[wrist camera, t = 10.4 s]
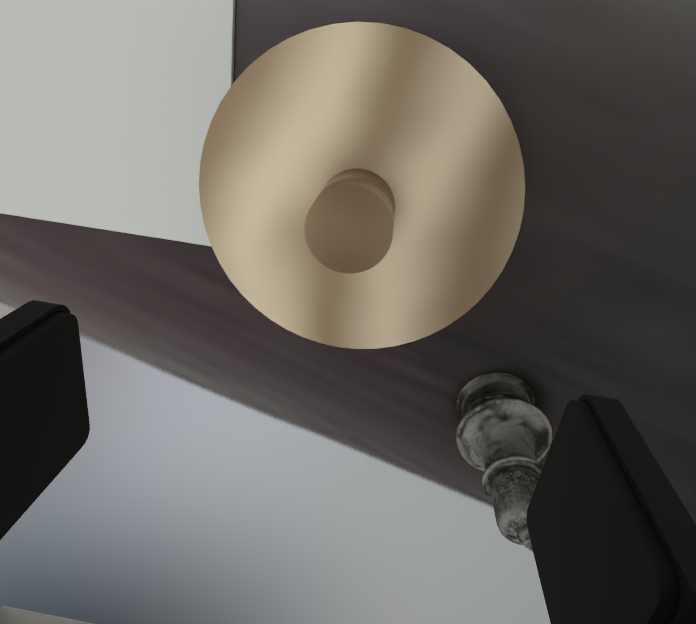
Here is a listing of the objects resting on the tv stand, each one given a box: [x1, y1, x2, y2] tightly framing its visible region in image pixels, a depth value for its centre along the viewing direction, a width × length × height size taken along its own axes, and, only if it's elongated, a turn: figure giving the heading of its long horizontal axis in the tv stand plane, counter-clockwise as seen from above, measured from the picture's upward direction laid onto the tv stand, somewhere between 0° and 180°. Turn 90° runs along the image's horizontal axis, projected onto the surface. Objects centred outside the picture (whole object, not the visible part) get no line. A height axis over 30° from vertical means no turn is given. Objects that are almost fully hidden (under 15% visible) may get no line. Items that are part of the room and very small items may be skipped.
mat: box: [0, 0, 235, 246], centre depth 29 cm, size 17×17×1 cm
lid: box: [199, 22, 525, 349], centre depth 23 cm, size 15×15×5 cm
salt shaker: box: [456, 372, 552, 551], centre depth 30 cm, size 6×6×12 cm
